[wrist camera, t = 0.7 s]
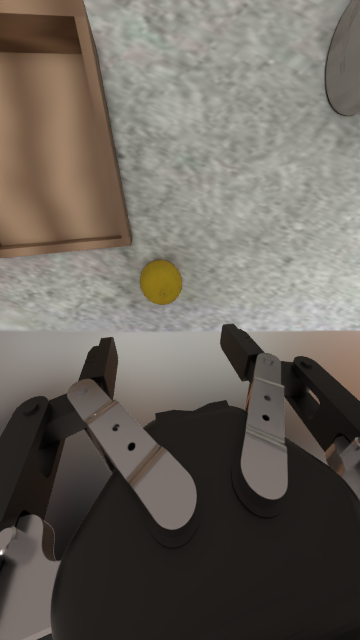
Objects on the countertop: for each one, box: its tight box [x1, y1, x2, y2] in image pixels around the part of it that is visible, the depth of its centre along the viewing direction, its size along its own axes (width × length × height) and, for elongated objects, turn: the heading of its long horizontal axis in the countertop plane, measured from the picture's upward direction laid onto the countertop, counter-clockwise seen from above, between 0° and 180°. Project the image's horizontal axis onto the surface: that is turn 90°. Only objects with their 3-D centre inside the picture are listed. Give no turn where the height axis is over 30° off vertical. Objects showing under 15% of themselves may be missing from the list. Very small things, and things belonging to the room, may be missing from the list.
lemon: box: [140, 260, 182, 305], centre depth 24 cm, size 6×6×8 cm
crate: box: [0, 0, 132, 258], centre depth 18 cm, size 16×16×4 cm
